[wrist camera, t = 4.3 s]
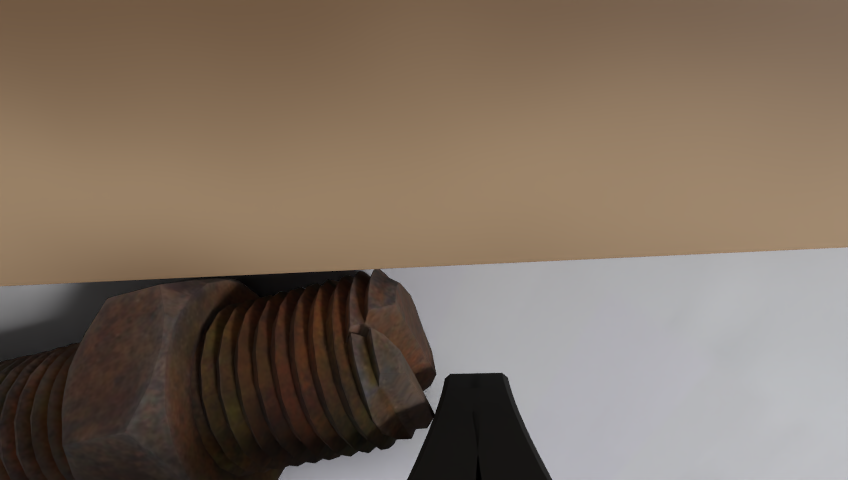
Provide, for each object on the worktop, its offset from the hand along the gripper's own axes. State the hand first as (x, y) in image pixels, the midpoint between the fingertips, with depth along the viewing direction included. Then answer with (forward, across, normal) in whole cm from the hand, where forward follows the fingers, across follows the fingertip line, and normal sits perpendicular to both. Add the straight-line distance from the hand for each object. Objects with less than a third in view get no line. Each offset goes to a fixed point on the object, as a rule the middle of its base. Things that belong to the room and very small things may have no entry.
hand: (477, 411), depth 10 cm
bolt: (+2, +8, 0) cm, 9 cm away
